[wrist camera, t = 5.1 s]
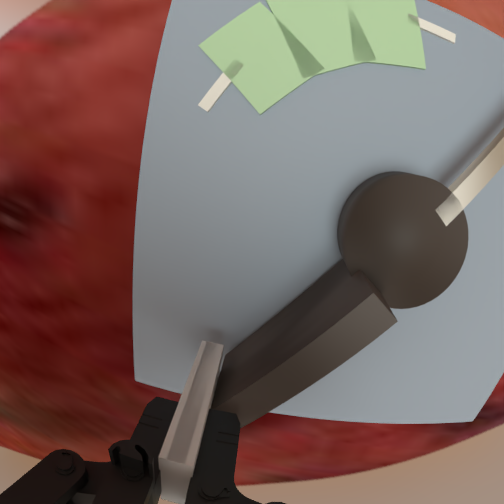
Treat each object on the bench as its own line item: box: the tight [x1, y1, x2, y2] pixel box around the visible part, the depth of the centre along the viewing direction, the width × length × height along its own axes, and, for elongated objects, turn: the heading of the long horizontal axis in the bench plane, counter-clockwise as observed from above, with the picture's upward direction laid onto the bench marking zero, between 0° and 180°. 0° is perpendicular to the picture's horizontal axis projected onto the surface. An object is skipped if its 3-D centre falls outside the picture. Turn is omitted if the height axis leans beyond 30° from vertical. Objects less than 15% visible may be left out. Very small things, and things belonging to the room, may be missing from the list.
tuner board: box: [133, 0, 504, 424], centre depth 13 cm, size 22×22×2 cm
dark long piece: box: [211, 128, 504, 428], centre depth 10 cm, size 21×5×4 cm, turn 135°
